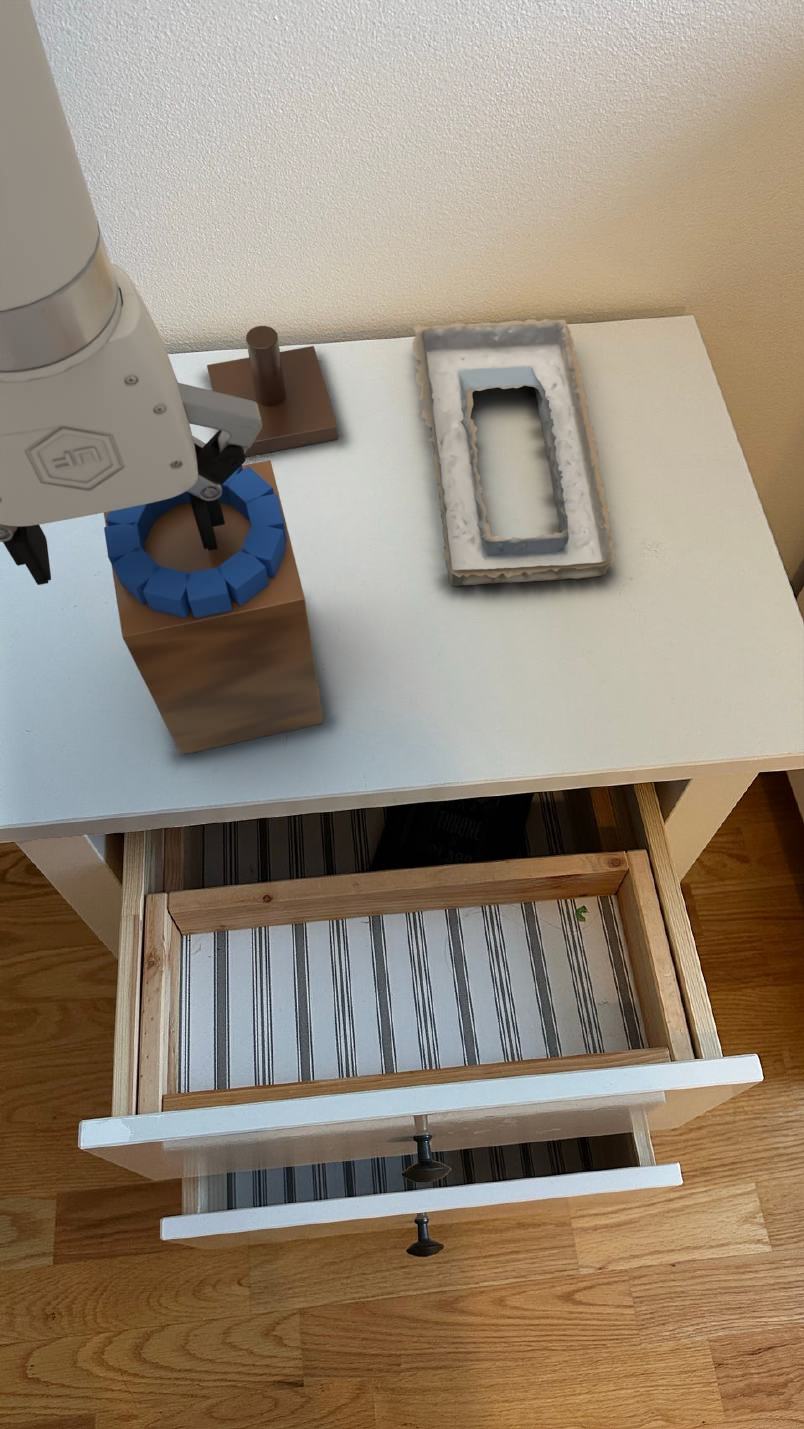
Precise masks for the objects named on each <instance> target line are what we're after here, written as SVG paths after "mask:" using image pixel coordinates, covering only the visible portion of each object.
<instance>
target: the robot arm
mask: <svg viewBox="0 0 804 1429" xmlns="http://www.w3.org/2000/svg"><path fill="white" fill-rule="evenodd" d="M61 101H62V100H61V99H60V95H59V91H58V89H57V85H56V82H55V79H54V76H53V72H52V69H51V66H50V62H49V59H48V56H47V53H46V49H45V46H44V43H43V40H42V37H41V33H40V29H39V26H38V23H37V21H36V17H35V14H34V10H33V7H32V3H31V1H30V0H0V543H2V544H3V545H4V547H5V548H6V550H7V551H8V553H9V555H10V556H11V558H12V560H13V561H14V563H15V565H16V566H17V567H18V566H24V565H25V566H26V568H27V570H28V571H29V573H30V575H31V577H32V578H33V580H34V581H35V584H37V586H41V585H45V584H49V581H51V580H52V573H51V566H50V555H49V547H48V540H47V537H46V534H45V532H44V531H43V529H42V527H41V526H40V525H45V524H51V523H55V522H62V521H67V520H72V519H78V518H82V517H88V516H94V515H98V514H104V512H109V511H114V510H119V509H124V508H129V507H134V506H139V505H144V504H148V503H153V502H157V501H162V500H166V499H169V498H172V497H175V496H178V495H180V494H182V493H184V492H186V491H187V492H189V496H190V501H191V506H192V510H193V513H194V517H195V520H196V523H197V527H198V530H199V533H200V537H201V540H202V543H203V547H204V549H207V548H208V551H210V550H215V549H218V548H217V543H216V538H215V533H214V528H213V527H215V526H220V525H225V521H224V516H223V511H222V507H221V503H220V499H219V497H220V496H221V495H222V488H221V485H222V484H223V483H224V482H225V481H226V480H227V479H228V478H229V477H230V476H231V475H232V474H233V473H234V472H235V471H236V470H237V469H238V468H239V467H240V466H241V465H244V463H245V462H246V457H245V453H246V451H247V449H248V448H250V447H251V445H252V444H253V442H254V440H255V439H256V437H257V435H258V434H259V432H260V430H261V428H262V426H263V425H262V421H261V417H260V413H259V409H258V404H257V403H256V402H254V401H252V400H248V399H244V398H240V397H235V396H231V395H227V394H223V393H219V392H215V391H212V389H211V390H210V389H206V388H202V387H198V386H194V385H189V384H186V383H181V382H179V381H178V379H177V375H176V372H175V370H174V368H173V365H172V362H171V359H170V356H169V354H168V352H167V349H166V347H165V344H164V342H163V339H162V336H161V335H160V332H159V330H158V328H157V326H156V323H155V321H154V319H153V318H152V316H151V313H150V310H148V307H147V306H146V303H145V302H144V300H143V298H142V296H141V295H140V293H139V291H138V289H137V288H136V285H134V282H133V280H132V279H131V278H130V276H129V274H127V272H125V270H124V269H122V268H121V267H120V266H119V265H117V264H115V263H112V262H111V259H110V256H109V252H108V249H107V245H106V243H105V240H104V237H103V236H104V235H103V233H102V229H101V226H100V224H99V221H98V216H97V213H96V210H95V208H94V204H93V201H92V197H91V195H90V191H89V188H88V185H87V182H86V179H85V175H84V172H83V169H82V166H81V162H80V160H79V155H78V153H77V150H76V146H75V143H74V139H73V137H72V134H71V130H70V127H69V123H68V121H67V118H66V114H65V110H64V108H63V104H62V102H61ZM191 425H195V426H199V427H204V428H207V429H208V428H209V429H213V430H217V431H216V433H215V434H213V436H212V437H210V439H209V440H208V441H207V442H206V443H205V442H204V441H203V440H201V439H199V438H198V437H196V436H194V435H193V432H192V429H191Z"/></svg>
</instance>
